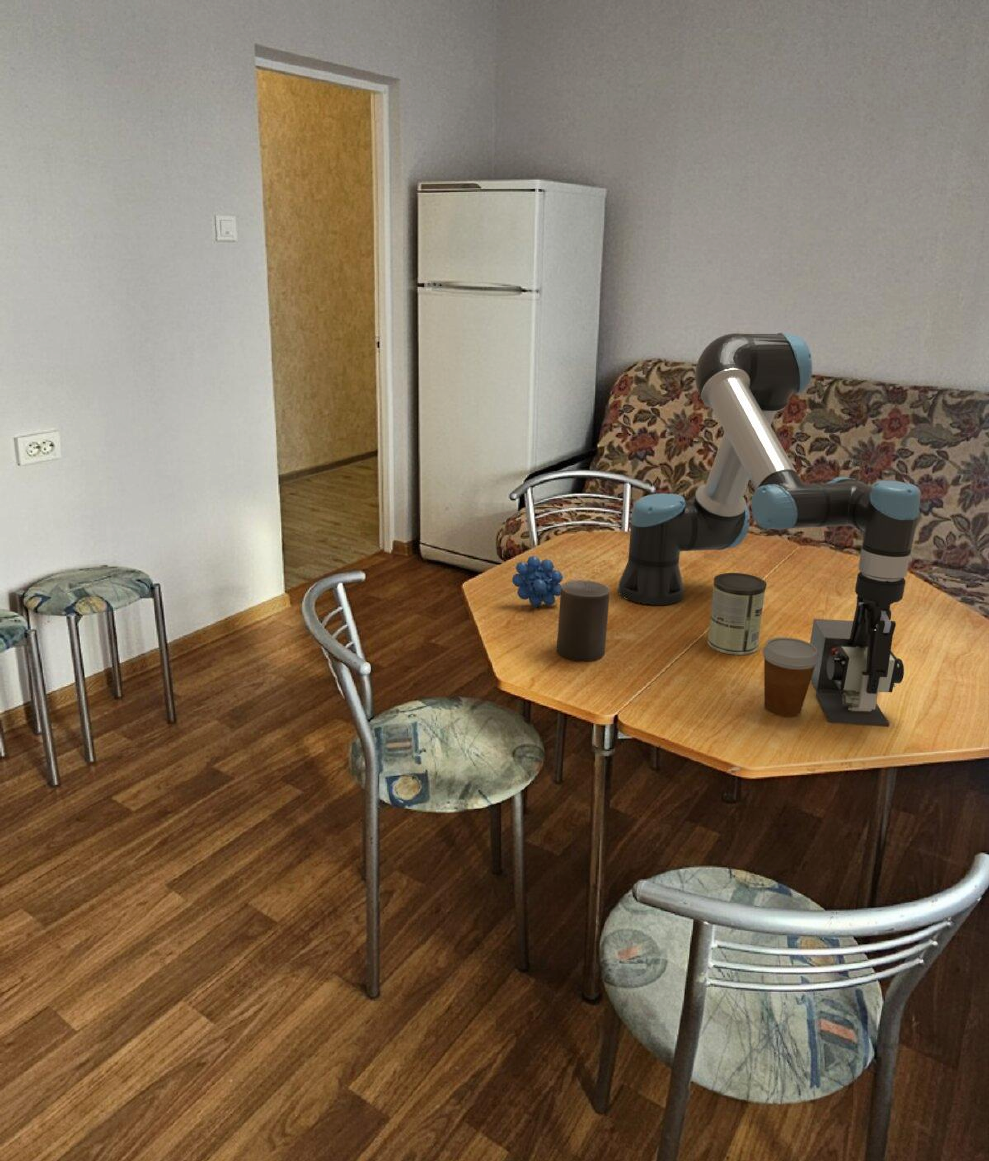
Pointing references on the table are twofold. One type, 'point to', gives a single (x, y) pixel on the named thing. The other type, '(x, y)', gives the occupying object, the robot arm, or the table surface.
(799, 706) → the disposable coffee cup
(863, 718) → the pad
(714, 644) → the coffee can
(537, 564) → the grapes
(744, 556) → the table surface
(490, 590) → the table surface
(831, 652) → the block
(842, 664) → the pneumatic valve
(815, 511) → the robot arm
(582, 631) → the pillar candle
